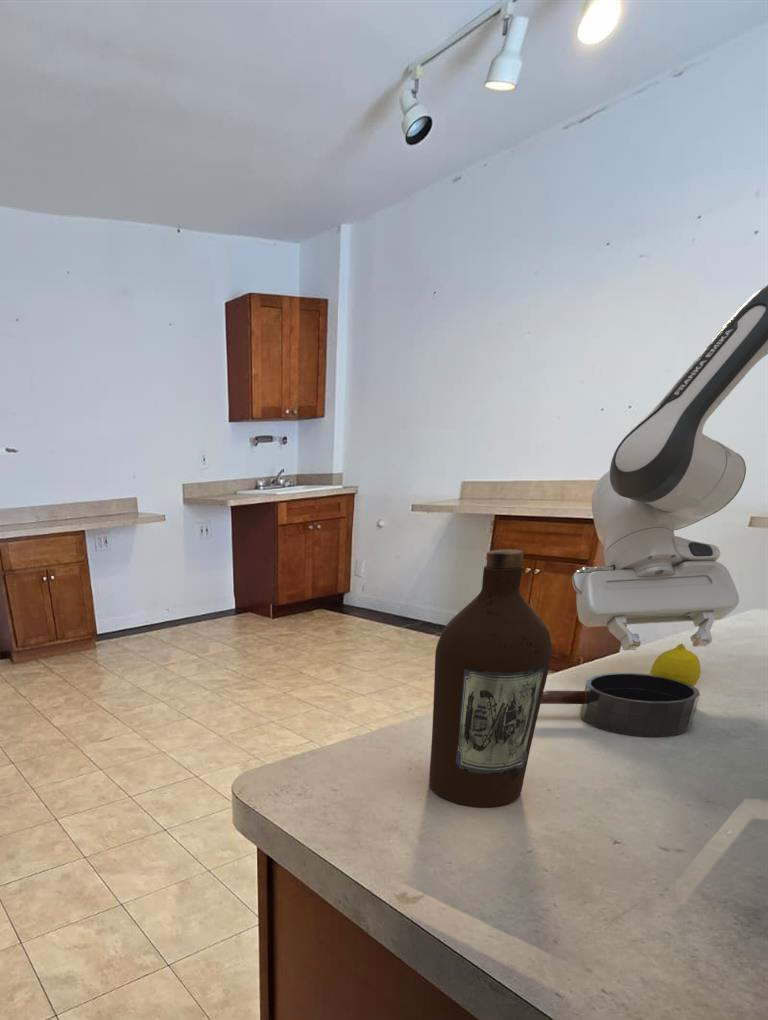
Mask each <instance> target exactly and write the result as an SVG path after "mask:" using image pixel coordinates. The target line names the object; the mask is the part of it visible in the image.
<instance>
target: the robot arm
mask: <svg viewBox="0 0 768 1020" xmlns="http://www.w3.org/2000/svg"><path fill="white" fill-rule="evenodd" d="M767 355H768V284H766V285H765V286H763V287H762V288H760V289H759V290H758V291H756V292H755V293H754V294H752V295H751V297H749V298H748V299H747V301H745V302H744V303H743V304H742V305H741V306H740V307H739V308H738V310H737V311H736V312H735V313H734V314H733V315H732V317H730V318H729V320H728V321H727V322H726V323H725V324H724V325H723V327H722V328H721V329H720V330H719V331H718V333H716V335H715V336H714V337H713V338H712V339H711V341H710V342H709V343H708V344H707V345H706V346H705V348H704V349H703V351H702V352H701V353H700V354H699V355H698V356H697V357H696V359H695V360H694V361H693V363H692V364H691V365H690V366H689V367H688V368H687V369H686V371H685V372H684V373H683V374H682V375H681V377H680V378H679V379H678V380H677V382H676V383H675V384H674V385H673V387H672V388H671V389H670V390H669V391H668V392H667V393H666V394H665V396H664V397H663V398H662V400H660V402H659V403H658V404H657V405H656V406H655V407H654V408H653V409H652V410H651V411H650V412H649V413H648V414H647V415H646V416H645V417H644V418H643V419H642V420H641V421H640V422H638V424H636V425H635V426H634V427H633V428H632V429H631V430H630V431H629V432H628V433H627V434H626V435H625V437H623V438H622V439H621V441H620V443H619V444H618V445H617V447H616V449H615V451H614V453H613V455H612V458H611V462H610V467H609V470H608V471H607V472H605V473H604V474H603V475H602V476H601V477H600V478H599V480H598V481H597V482H596V484H595V486H594V488H593V492H592V496H591V513H592V517H593V523H594V528H595V532H596V535H597V538H598V540H599V541H600V543H602V547H603V553H602V555H603V556H602V557H603V561H604V565H599V566H584V567H581V568H580V569H579V570H576V571H575V572H574V573H573V574H572V577H571V582H572V583H571V584H572V586H573V590H574V591H575V593H576V599H575V600H576V612H577V618H578V621H579V622H580V623H581V624H582V625H583V626H584V627H587V628H593V627H607V629H608V632H609V633H610V634H611V635H612V636H614V637H615V638H616V639H617V640H618V641H620V644H621V648H622V650H623V651H636V650H637V649H638V648H640V646H641V640H640V635H639V633H632V632H631V630H630V629H629V628H628V627H627V626H629V625H631V626H632V625H645V624H646V625H647V624H648V625H649V624H667V623H685V622H693V626H694V627H698V629H697V631H696V632H695V633H694V634H692V635H691V636H690V641H691V642H692V646H693V647H695V648H696V647H697V648H698V647H707V646H708V645H710V644H711V643H712V641H713V636H712V634H711V631H710V630H711V629H712V626H713V624H714V622H715V621H719V620H722V619H724V618H725V617H727V616H728V615H730V614H731V613H732V612H733V611H734V610H735V609H736V608H737V607H738V605H739V603H740V595H739V592H738V591H737V590H738V589H737V587H736V585H735V582H734V580H733V577H732V576H731V573H730V571H729V569H728V568H727V567H726V566H725V565H724V564H722V562H718V561H717V560H718V559H719V558H720V557H721V551H720V548H719V547H718V546H717V545H715V544H711V543H706V542H705V543H704V542H699V541H695V540H692V539H687V538H683V537H681V536H678V535H675V531H679V530H681V529H684V528H687V527H689V526H691V525H694V524H696V523H698V522H700V521H702V520H704V519H706V518H708V517H710V516H712V515H715V514H717V513H718V512H719V511H721V510H723V509H724V508H725V507H726V506H728V504H730V503H732V501H733V500H734V499H735V497H736V496H737V495H738V494H739V492H740V490H741V489H742V486H743V484H744V481H745V479H746V474H747V465H746V462H745V459H744V458H743V456H741V454H740V453H738V452H736V451H734V450H733V449H731V448H730V447H728V446H726V445H724V443H721V442H720V441H718V440H714V439H712V438H711V437H709V436H707V435H705V434H704V433H703V431H704V426H705V425H706V422H707V420H709V418H710V417H711V416H712V414H713V413H714V412H715V411H716V410H717V408H719V406H720V405H721V404H722V403H723V402H724V401H725V400H726V399H727V397H728V396H729V395H730V394H731V393H732V392H733V390H734V389H735V388H736V387H737V386H738V384H740V382H741V381H742V380H743V379H744V378H745V377H746V375H747V374H748V373H749V372H750V371H751V370H752V368H754V367H755V366H756V365H757V363H758V362H760V361H761V360H762V359H763V358H765V357H767Z"/></svg>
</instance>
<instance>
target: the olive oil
mask: <svg viewBox="0 0 768 1020" xmlns="http://www.w3.org/2000/svg"><path fill="white" fill-rule="evenodd" d="M524 554H525V551H523V550H521V549H508V548H507V549H506V548H505V549H493V550H489V551H487V552H486V557H485V560H486V565H485V566H483V571H482V572H483V573H482V574H483V575H482V582H481V590H480V592H479V593H478V594H477V595H476V596H475V597H474V598H473V599H472V600H471V601H470V602H469V603H468V604H467V605H466V606H465V607H464V608H462V609H461V610H460V611H459V612H458V613H457V614H456V615H455V616H453V617H452V618H451V619H450V620H449V621H448V623H446V625H445V626H444V628H443V630H442V631H441V634H440V636H439V638H438V641H437V644H436V647H435V653H434V654H435V655H434V681H433V703H432V704H433V708H432V728H431V730H432V731H431V748H430V761H429V762H430V763H429V778H428V779H429V780H428V784H429V787H430V788H431V789H432V790H433V792H434V793H435V792H436V793H435V794H437V795H438V796H440V797H441V798H443V799H445V800H447V799H448V801H449V802H453V803H456V804H460V805H465V806H471V807H478V808H479V807H480V808H481V807H484V808H486V807H487V808H489V807H499V806H504V805H508V804H511V803H512V802H515V801H516V800H518V799H519V797H520V796H521V794H522V790H523V785H524V781H525V780H524V779H525V776H526V771H527V768H528V767H527V766H528V761H529V756H530V752H531V747H532V743H533V738H534V733H535V730H536V725H537V722H538V721H537V720H538V716H539V713H540V708H541V705H542V704H541V700H542V695H543V691H544V690H545V687H546V684H547V678H548V674H549V670H550V666H551V663H552V662H551V661H552V656H553V648H552V640H551V634H550V632H549V629H548V627H547V625H546V623H545V622H544V621H543V620H542V618H541V617H540V616H539V615H538V614H537V612H536V611H535V610H534V608H532V607H531V605H530V604H529V603H528V601H526V600H525V598H524V597H523V595H522V594H521V591H520V588H521V587H520V586H521V582H522V576H523V570H524V566H523V565H522V562H523V560H524Z"/></svg>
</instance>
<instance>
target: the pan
mask: <svg viewBox="0 0 768 1020" xmlns="http://www.w3.org/2000/svg"><path fill="white" fill-rule="evenodd" d="M583 691H587V692H588V701H587V703H586V704H580V705H581V706H580V712H579V716H580V718H581V719H582V720H583V721H584V722H585V723H587V724H589V725H590V726H593V727H595V728H598V729H599V730H603V731H607V732H610V733H614V734H620V735H627V736H631V737H632V736H634V737H644V738H664V737H665V738H666V737H674V736H679V735H682V734H685V733H686V732H688V731H689V730H690V729H691V726H692V724H693V721H694V718H695V713H696V710H697V708H698V703H699V700H700V697H701V693H700V690H699V688H697V687H696V686H692V685H691V684H688V683H685V682H683V681H679V680H676V679H672V678H668V677H663V676H656V675H650V673H648V674H647V673H637V672H611V673H602V674H598V675H595V676H591V677H590V678H588V679H586V681H585V686H584V690H583Z"/></svg>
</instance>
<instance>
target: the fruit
mask: <svg viewBox="0 0 768 1020" xmlns="http://www.w3.org/2000/svg"><path fill="white" fill-rule="evenodd" d="M649 674H650V675H656V676H663V677H668V678H672V679H676V680H679V681H683V682H685V683H688V684H691V685H692V686H694V687H696V684H697V683H698V681H699V679H700V677H701V663H700V659H699V656H697V654H695V653H693V652H692V651H690V650H688V649H686V647H685V645H684V644H683V643H679V644H678V645H677V646H676V647H674V648H672V649H668V650H666V651H664V652H662V653H661V654H659V656H658V657H657V658H656V659H655V661H654V662H653V663H652V665H651V668H650V672H649Z"/></svg>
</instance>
